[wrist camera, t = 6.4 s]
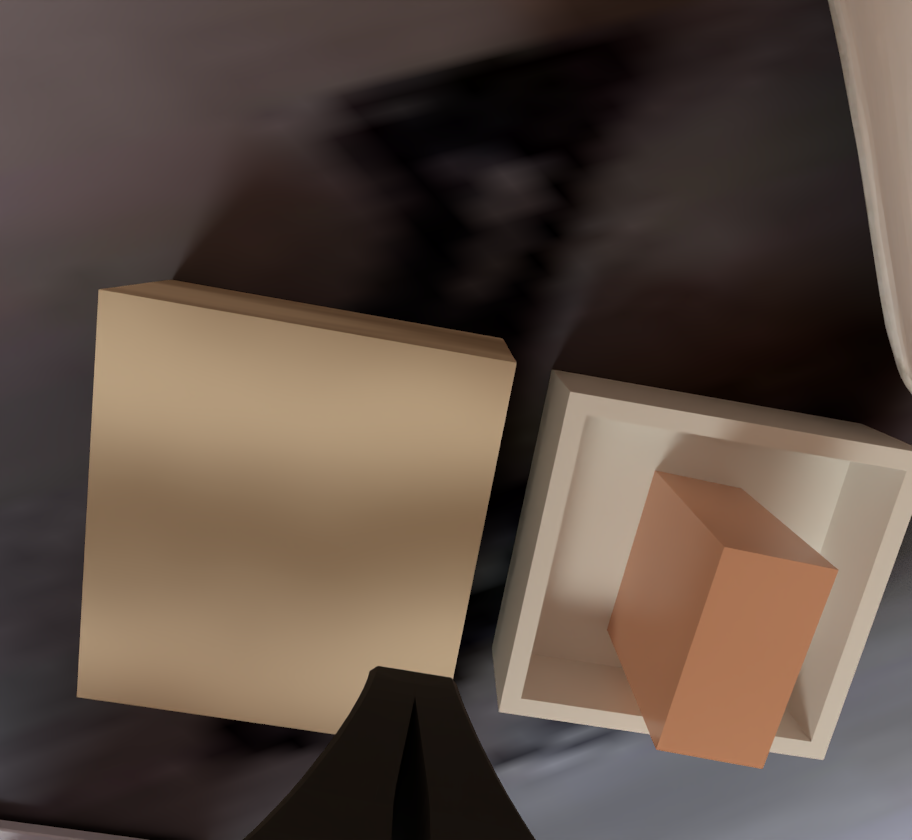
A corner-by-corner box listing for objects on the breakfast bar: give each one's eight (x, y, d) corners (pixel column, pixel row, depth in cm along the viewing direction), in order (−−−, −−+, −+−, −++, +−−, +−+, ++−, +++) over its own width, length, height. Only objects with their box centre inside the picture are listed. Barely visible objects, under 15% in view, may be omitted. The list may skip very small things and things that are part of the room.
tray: (773, 691, 22) (823, 759, 19) (491, 648, 22) (498, 711, 19) (862, 423, 20) (933, 455, 17) (551, 368, 19) (570, 391, 16)
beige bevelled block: (440, 658, 22) (438, 749, 18) (145, 613, 21) (76, 696, 17) (502, 338, 19) (517, 363, 15) (171, 279, 19) (99, 289, 15)
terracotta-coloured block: (606, 629, 21) (688, 645, 21) (655, 749, 16) (762, 768, 16) (654, 470, 19) (741, 488, 19) (724, 546, 14) (838, 569, 15)
